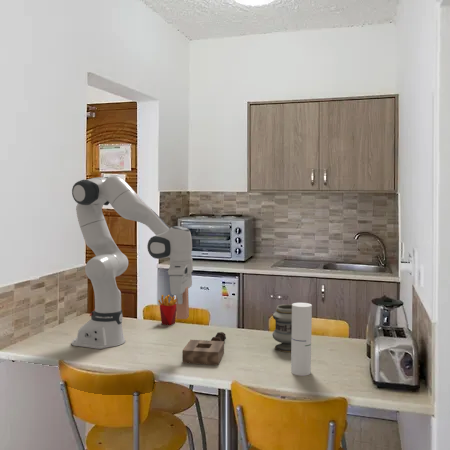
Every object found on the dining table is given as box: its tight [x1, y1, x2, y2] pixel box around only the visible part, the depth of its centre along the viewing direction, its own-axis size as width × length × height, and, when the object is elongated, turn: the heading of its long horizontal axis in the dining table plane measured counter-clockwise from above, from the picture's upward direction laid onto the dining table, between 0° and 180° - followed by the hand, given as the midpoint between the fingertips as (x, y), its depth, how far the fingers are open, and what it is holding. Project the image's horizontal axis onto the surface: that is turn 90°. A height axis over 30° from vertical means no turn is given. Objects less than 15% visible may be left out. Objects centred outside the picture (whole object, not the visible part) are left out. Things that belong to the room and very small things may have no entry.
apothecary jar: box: [272, 303, 292, 353], centre depth 208 cm, size 12×12×18 cm
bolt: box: [210, 331, 227, 342], centre depth 213 cm, size 6×5×15 cm
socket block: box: [181, 339, 225, 366], centre depth 195 cm, size 14×14×5 cm
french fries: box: [157, 294, 177, 327], centre depth 244 cm, size 9×8×15 cm
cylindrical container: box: [290, 302, 313, 377], centre depth 180 cm, size 7×7×25 cm
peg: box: [175, 287, 190, 320], centre depth 195 cm, size 4×4×12 cm
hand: (182, 302), depth 195 cm, fingers closed on peg, 4 cm apart
